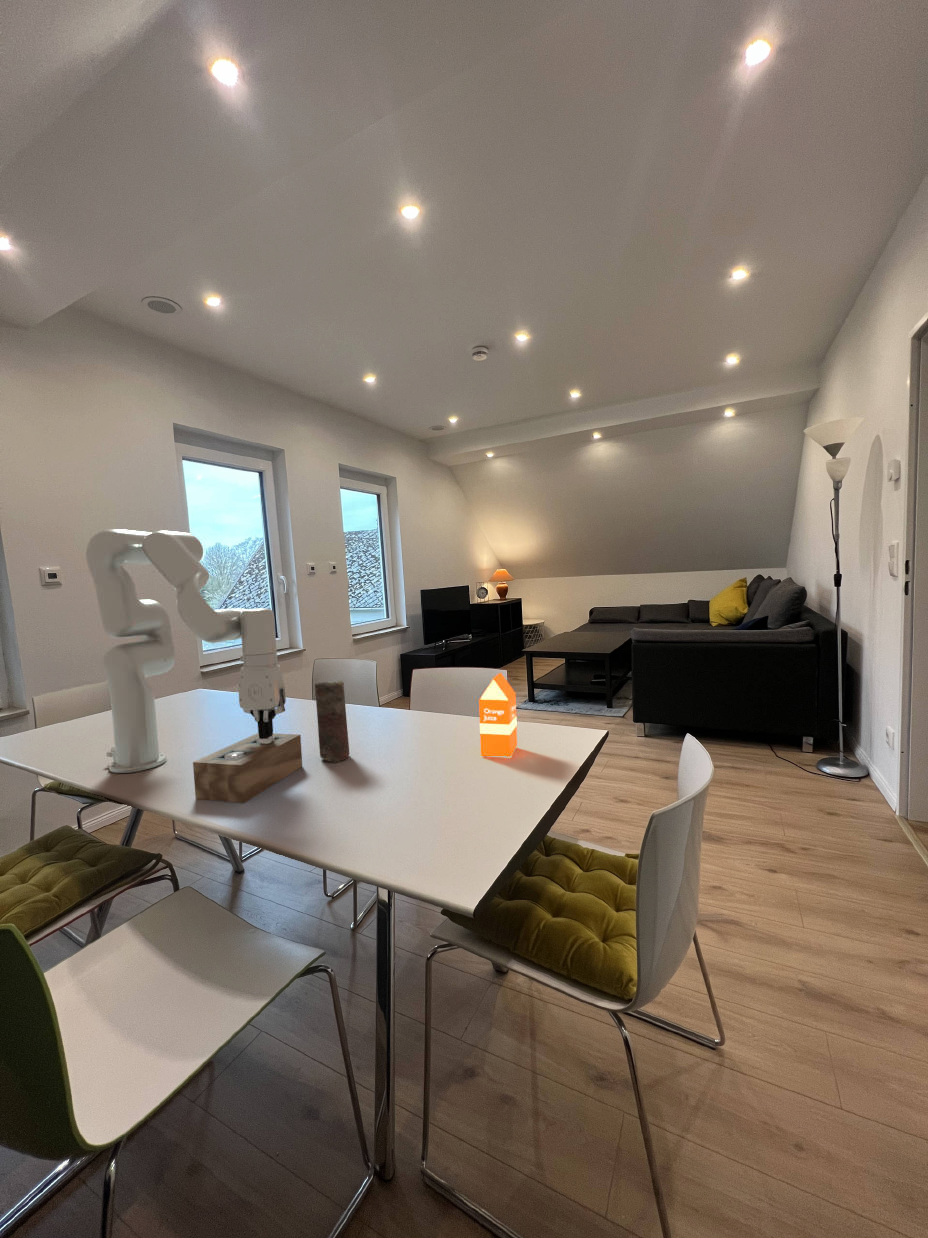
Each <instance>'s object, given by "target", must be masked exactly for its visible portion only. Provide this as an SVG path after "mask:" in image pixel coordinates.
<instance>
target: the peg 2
mask: <svg viewBox="0 0 928 1238" xmlns="http://www.w3.org/2000/svg"><path fill="white" fill-rule="evenodd" d="M256 741H257V743H265V744H268V743H270V742H272V741H274V735H272V736H270V737H268V738H266V739H263V738H262V739H261V738H259V736H258V737H257V738H256Z"/></svg>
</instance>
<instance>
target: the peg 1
mask: <svg viewBox="0 0 928 1238" xmlns="http://www.w3.org/2000/svg"><path fill="white" fill-rule="evenodd" d="M242 756H244V752H233V753H229V754H226V755H225V756H224V757H225V759H238V758H240V757H242Z"/></svg>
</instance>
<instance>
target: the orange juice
mask: <svg viewBox="0 0 928 1238" xmlns="http://www.w3.org/2000/svg"><path fill="white" fill-rule="evenodd" d="M516 695H517V693H516V692H515V691H514V689H513V687H512V686H511V685H510V683H509V682H508V680H507V679H506V677H505V676H504V675H503V673H502V672H499V673H497V675H495V676H494V677H492V680H491V682H490V684H489V685H488V686H487V688H486V689H485V690H484V692H483V694H482V695H481V697H480V698H479V699H478V709H479V712H478V713H479V734H480V735H479V736H480V739H479V741H480V757H481V756H507V757H508V756H509V757H510V756H511V755H512V753H513V752H514V750H515V748H516V746H517V747H518V732H517V731H518V730H517V729H518V728H517V723H518V722H517V719H518V718H517V702H516V701H517V700H516V699H517V697H516ZM514 753H515V752H514ZM512 756H513V755H512Z"/></svg>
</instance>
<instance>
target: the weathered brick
mask: <svg viewBox="0 0 928 1238" xmlns="http://www.w3.org/2000/svg"><path fill="white" fill-rule="evenodd" d="M314 691H315V692H314V693H315V702H316V717H317V731H318V732H317V733H318V748H319V756H320V758H321V759H323V761H324V760H325V761H328V762H330V763H338V762H341V761H343V760H346V759H347V758H348V757H349V756H350V743H349V742H350V741H349V733H348V723H347V721H348V720H347V712H346V711H347V710H346V698H345V686H344V681H343V680H339V681H337V682H335V681H334V682H326V681H325V682H324V681H323V682H318V683H317V682H316V683H314Z"/></svg>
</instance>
